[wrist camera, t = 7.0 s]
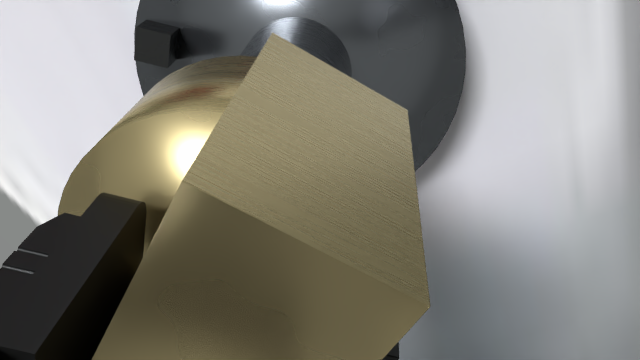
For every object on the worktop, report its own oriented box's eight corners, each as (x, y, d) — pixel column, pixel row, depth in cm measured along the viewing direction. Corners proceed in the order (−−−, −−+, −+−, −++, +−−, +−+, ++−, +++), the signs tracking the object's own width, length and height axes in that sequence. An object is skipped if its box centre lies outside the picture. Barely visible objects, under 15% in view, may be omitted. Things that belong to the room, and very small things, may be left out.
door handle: (204, -64, 11) (-63, 56, 4) (481, 101, 12) (607, 396, 5) (56, 293, 16) (-173, 601, 9) (261, 385, 17) (187, 719, 10)
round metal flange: (510, -66, 19) (611, -9, 11) (406, 220, 25) (420, 397, 17) (160, -156, 19) (-11, -166, 10) (140, 157, 25) (20, 306, 16)
